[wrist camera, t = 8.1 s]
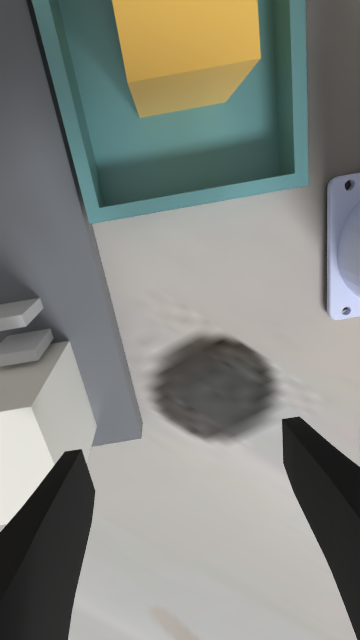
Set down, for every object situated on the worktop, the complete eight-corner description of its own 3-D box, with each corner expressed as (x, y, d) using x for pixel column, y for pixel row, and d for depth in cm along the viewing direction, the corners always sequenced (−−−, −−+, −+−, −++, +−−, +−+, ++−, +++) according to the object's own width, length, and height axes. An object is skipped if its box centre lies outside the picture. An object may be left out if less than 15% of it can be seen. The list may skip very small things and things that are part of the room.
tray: (271, -220, 12) (300, -325, 10) (287, 184, 18) (308, 185, 15) (5, -168, 13) (-35, -258, 10) (99, 218, 18) (89, 224, 15)
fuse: (69, 340, 19) (30, 406, 13) (96, 426, 21) (74, 513, 16) (-1, 352, 19) (-69, 423, 13) (34, 436, 21) (-12, 526, 16)
